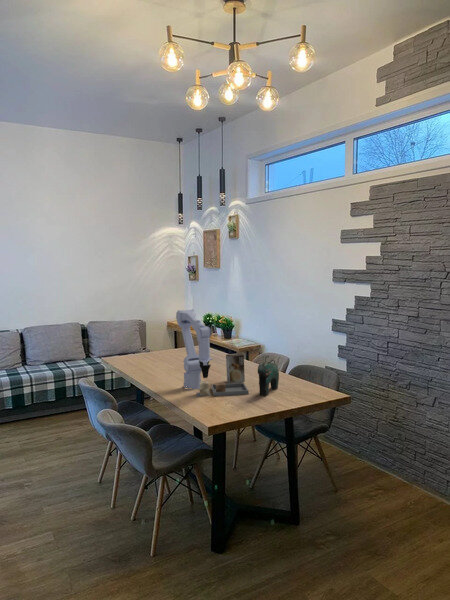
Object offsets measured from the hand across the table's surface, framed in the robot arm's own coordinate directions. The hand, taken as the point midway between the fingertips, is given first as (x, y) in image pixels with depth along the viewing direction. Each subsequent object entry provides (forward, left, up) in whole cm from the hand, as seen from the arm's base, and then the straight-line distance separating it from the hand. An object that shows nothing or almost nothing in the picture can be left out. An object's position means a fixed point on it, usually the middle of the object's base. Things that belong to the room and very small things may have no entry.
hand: (204, 375), depth 231 cm
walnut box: (+8, -1, -9) cm, 12 cm away
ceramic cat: (+33, -3, -10) cm, 35 cm away
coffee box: (+19, +21, -10) cm, 30 cm away
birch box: (-1, -1, -9) cm, 9 cm away
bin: (+13, +2, -10) cm, 16 cm away
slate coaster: (-1, -1, -10) cm, 10 cm away
